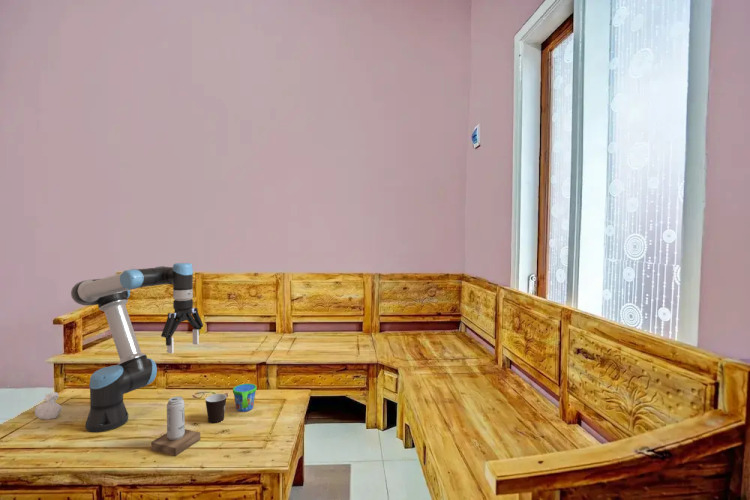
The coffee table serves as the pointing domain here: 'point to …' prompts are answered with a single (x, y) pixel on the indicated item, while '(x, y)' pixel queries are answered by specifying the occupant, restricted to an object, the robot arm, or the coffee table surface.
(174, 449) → the walnut board
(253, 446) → the coffee table surface
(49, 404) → the tied plastic bag
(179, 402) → the energy drink can
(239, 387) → the snack cup
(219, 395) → the coffee mug
